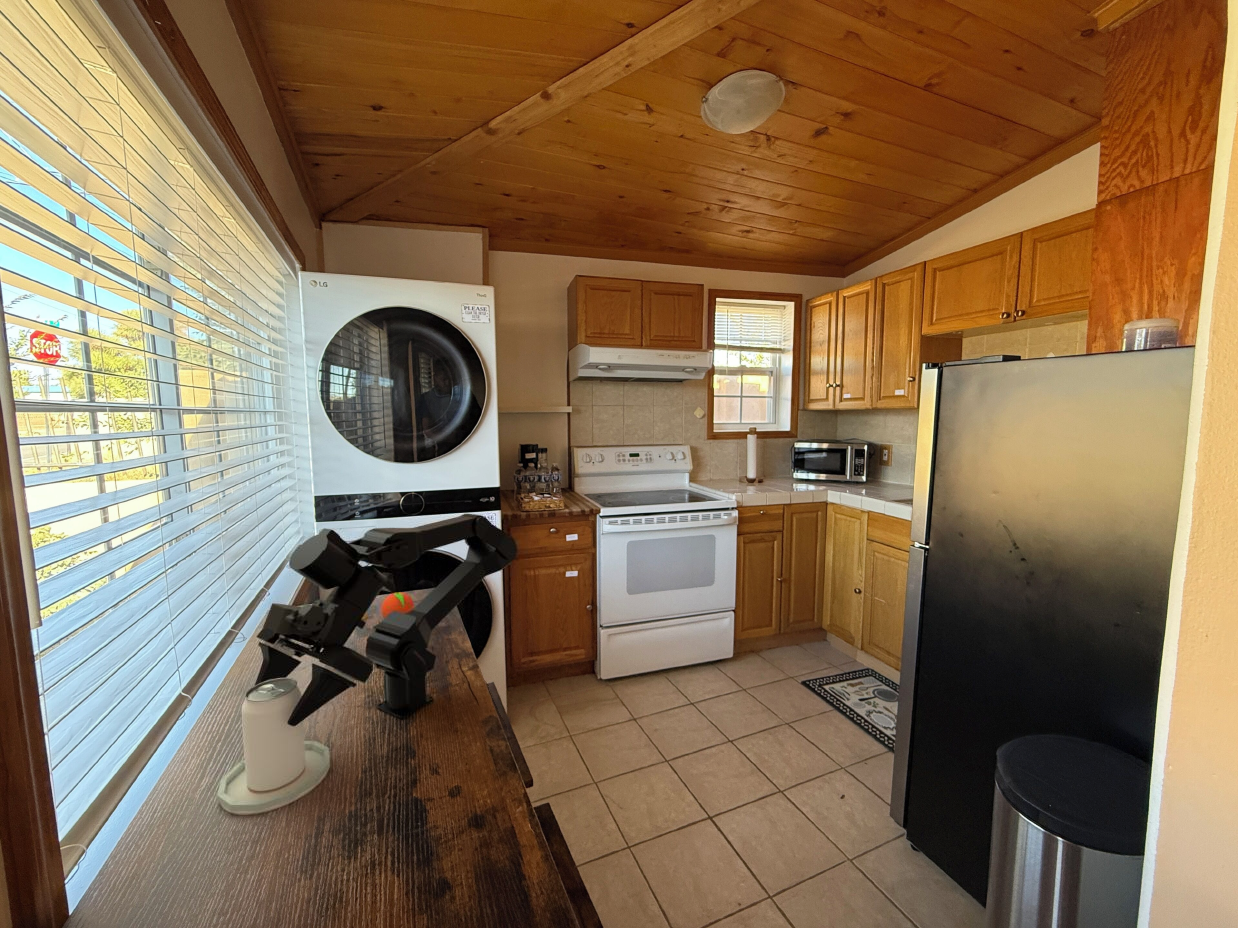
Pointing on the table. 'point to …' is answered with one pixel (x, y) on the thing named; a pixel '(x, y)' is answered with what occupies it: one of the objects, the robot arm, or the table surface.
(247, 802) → the saucer
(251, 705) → the can
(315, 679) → the robot arm
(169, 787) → the table surface
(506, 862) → the table surface
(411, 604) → the clementine
